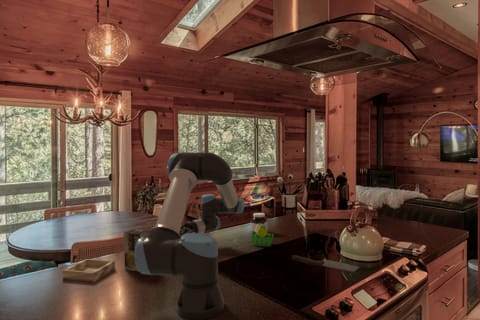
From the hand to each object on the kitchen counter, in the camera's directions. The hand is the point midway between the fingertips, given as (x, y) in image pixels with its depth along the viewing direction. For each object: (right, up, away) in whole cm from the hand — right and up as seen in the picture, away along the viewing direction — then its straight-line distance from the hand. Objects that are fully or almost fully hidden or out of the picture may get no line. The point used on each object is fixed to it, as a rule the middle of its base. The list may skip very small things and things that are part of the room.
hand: (156, 237), depth 150 cm
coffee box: (-7, -12, -7) cm, 15 cm away
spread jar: (+50, -9, +47) cm, 69 cm away
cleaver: (+75, -11, -4) cm, 76 cm away
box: (-24, -12, -13) cm, 30 cm away
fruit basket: (+49, -10, +25) cm, 56 cm away
